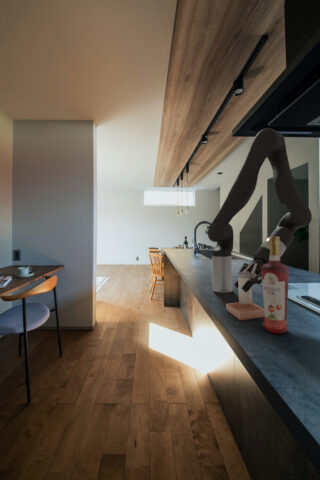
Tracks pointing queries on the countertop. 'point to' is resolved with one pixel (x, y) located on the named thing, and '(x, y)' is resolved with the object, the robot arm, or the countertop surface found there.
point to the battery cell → (242, 279)
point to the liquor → (275, 290)
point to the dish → (245, 311)
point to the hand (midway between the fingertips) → (240, 288)
